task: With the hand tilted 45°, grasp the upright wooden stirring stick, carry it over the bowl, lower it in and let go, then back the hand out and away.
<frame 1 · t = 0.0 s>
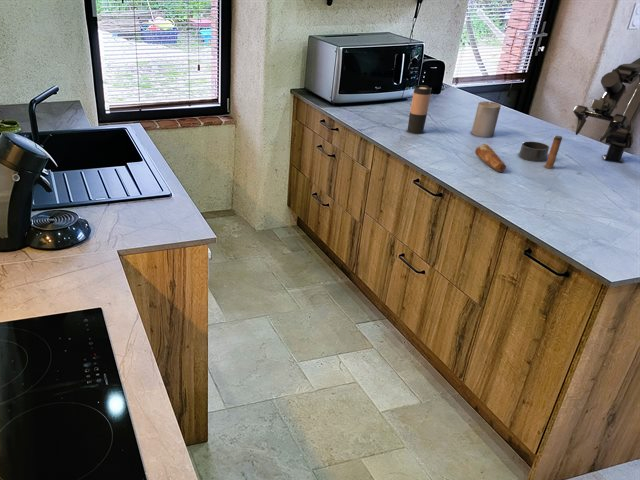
hand: (588, 137, 223), 15 cm above the worktop, tool tilted 35°, fingers open, 9 cm apart
bread: (491, 165, 240), on the worktop
stick: (548, 167, 238), on the worktop
travel mug: (415, 131, 275), on the worktop
pillar candle: (482, 134, 274), on the worktop
bowl: (532, 157, 248), on the worktop
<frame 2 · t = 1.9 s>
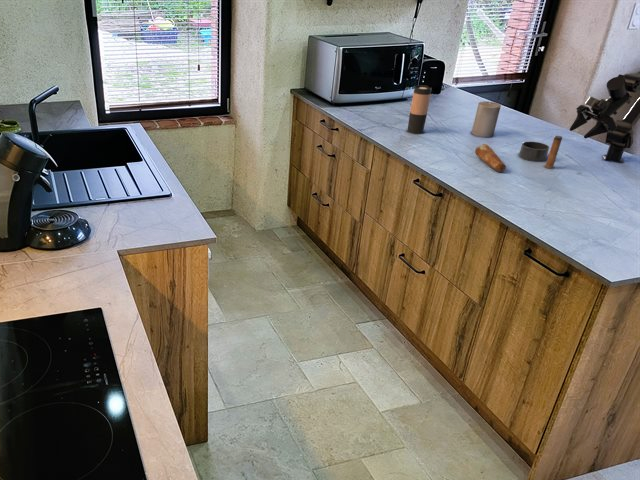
hand: (577, 133, 232), 13 cm above the worktop, tool tilted 45°, fingers open, 9 cm apart
nothing on the worktop moved.
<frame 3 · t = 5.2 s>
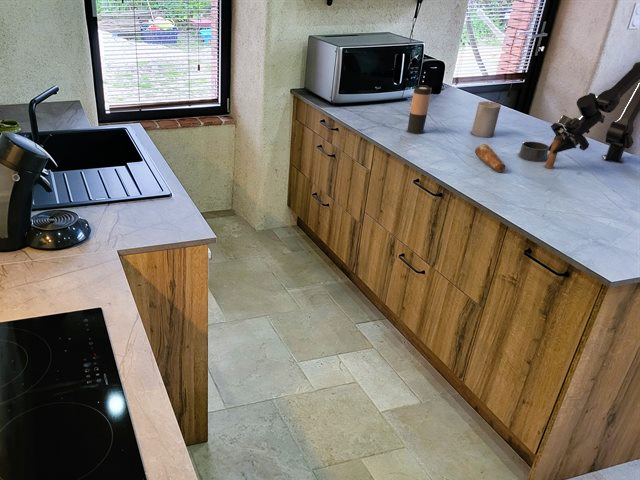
hand: (550, 151, 234), 7 cm above the worktop, tool tilted 45°, fingers closed on stick, 3 cm apart
stick: (548, 167, 238), on the worktop, touching gripper
everything else where it was.
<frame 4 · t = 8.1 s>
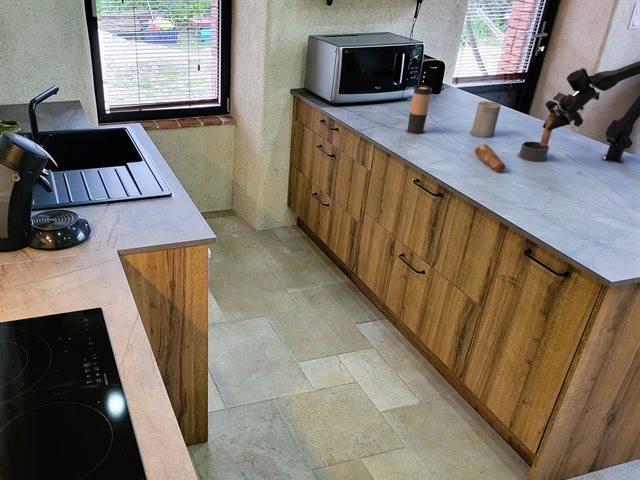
hand: (545, 128, 237), 14 cm above the worktop, tool tilted 45°, fingers closed on stick, 3 cm apart
stick: (543, 144, 240), point 7 cm above the worktop, touching gripper
everything else where it was.
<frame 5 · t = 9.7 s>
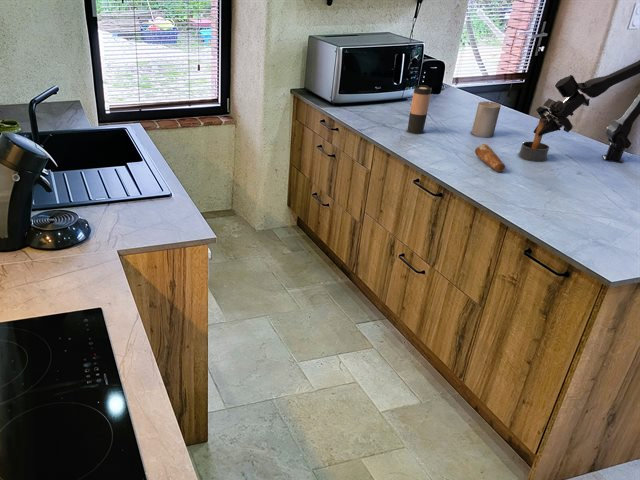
hand: (536, 133, 242), 10 cm above the worktop, tool tilted 45°, fingers closed on stick, 3 cm apart
stick: (534, 149, 246), point 3 cm above the worktop, touching gripper
everything else where it was.
when the fingers open (7 cm above the worktop, at t = 10.9 s): stick stays where it is, resting on bowl.
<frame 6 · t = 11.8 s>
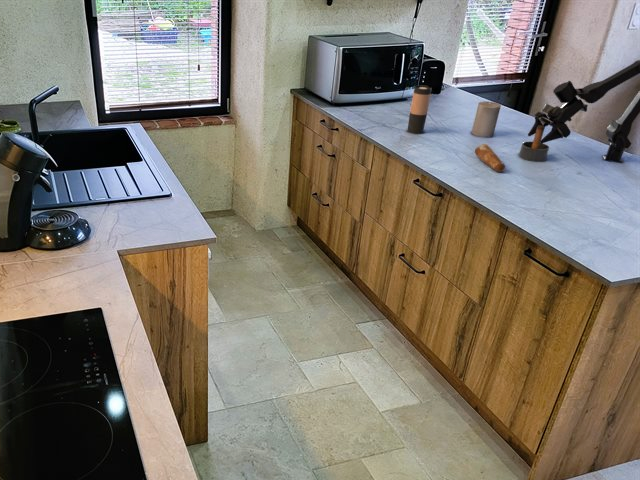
hand: (534, 139, 244), 8 cm above the worktop, tool tilted 45°, fingers open, 9 cm apart
stick: (532, 156, 248), resting on bowl
everything else where it was.
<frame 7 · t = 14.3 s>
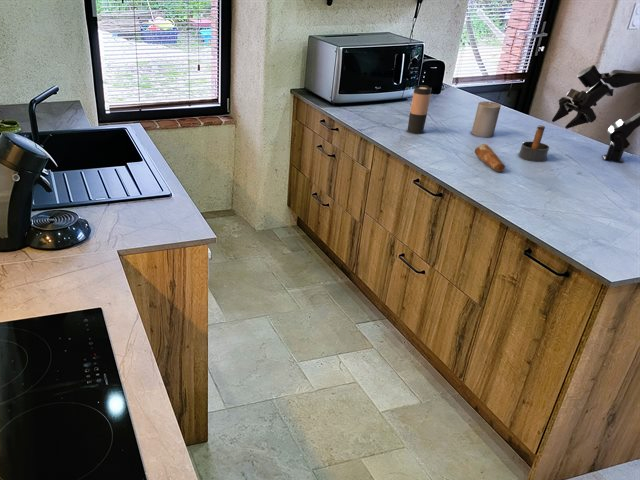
hand: (558, 124, 242), 14 cm above the worktop, tool tilted 45°, fingers open, 9 cm apart
nothing on the worktop moved.
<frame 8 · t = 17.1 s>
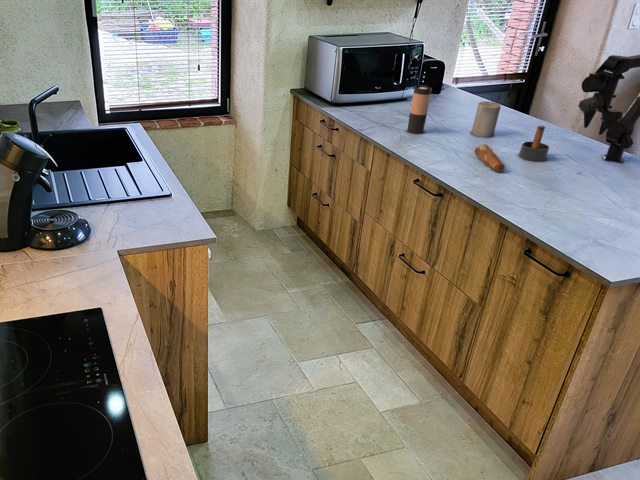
hand: (592, 131, 237), 13 cm above the worktop, tool pointing down, fingers open, 9 cm apart
nothing on the worktop moved.
at the end: stick inside the target area in the bowl (0.0 cm from its centre), point 0.5 cm above the bowl's base; the gripper is holding nothing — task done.
